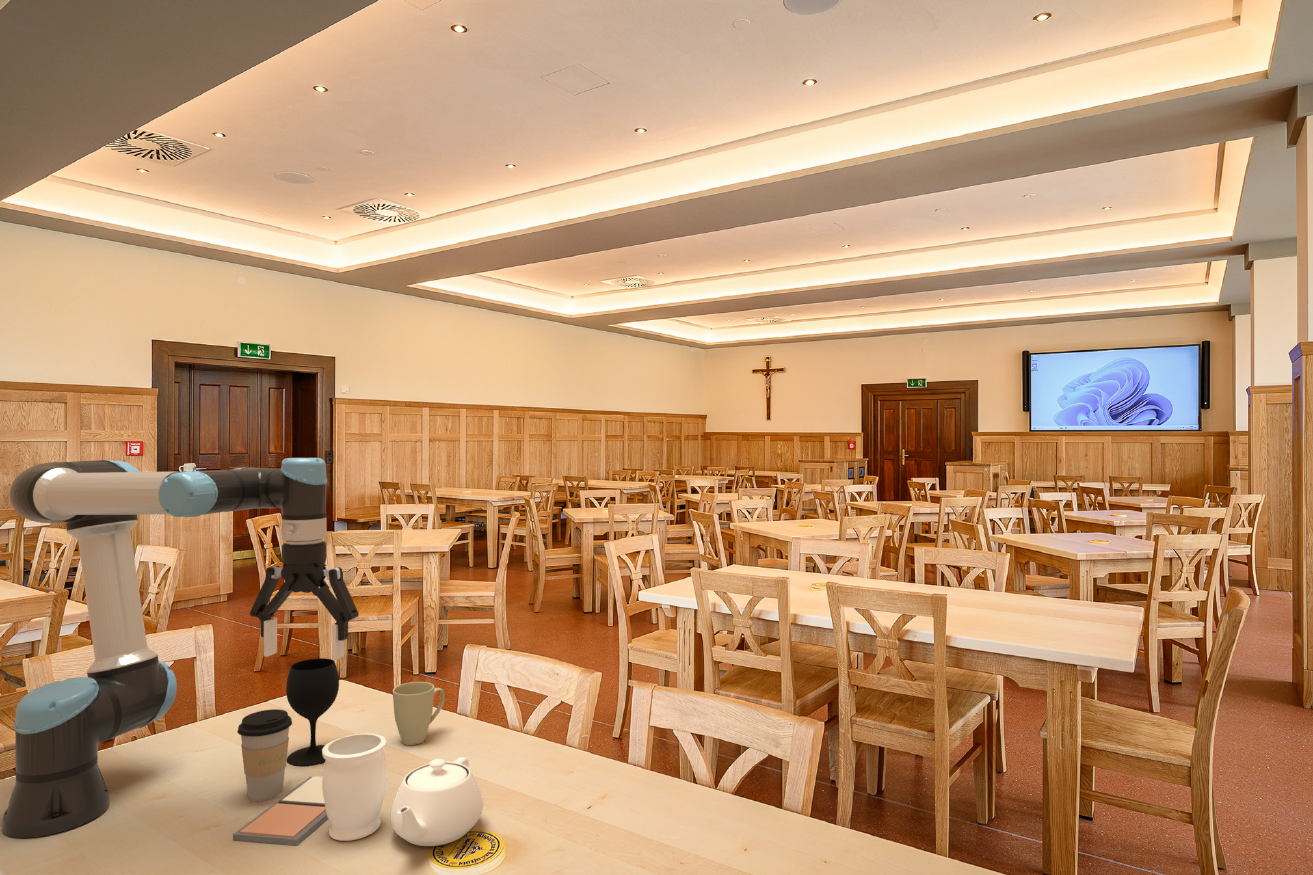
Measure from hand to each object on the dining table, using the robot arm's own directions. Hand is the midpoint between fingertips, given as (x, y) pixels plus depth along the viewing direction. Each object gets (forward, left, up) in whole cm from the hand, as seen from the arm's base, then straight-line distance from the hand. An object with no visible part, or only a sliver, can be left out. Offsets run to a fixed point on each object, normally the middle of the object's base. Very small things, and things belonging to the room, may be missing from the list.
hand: (304, 656), depth 138 cm
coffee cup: (-12, +5, -29) cm, 31 cm away
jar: (+13, -5, -29) cm, 32 cm away
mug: (+5, +34, -29) cm, 45 cm away
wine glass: (-13, +22, -29) cm, 38 cm away
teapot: (+27, -4, -29) cm, 40 cm away
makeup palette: (0, 0, -29) cm, 29 cm away
